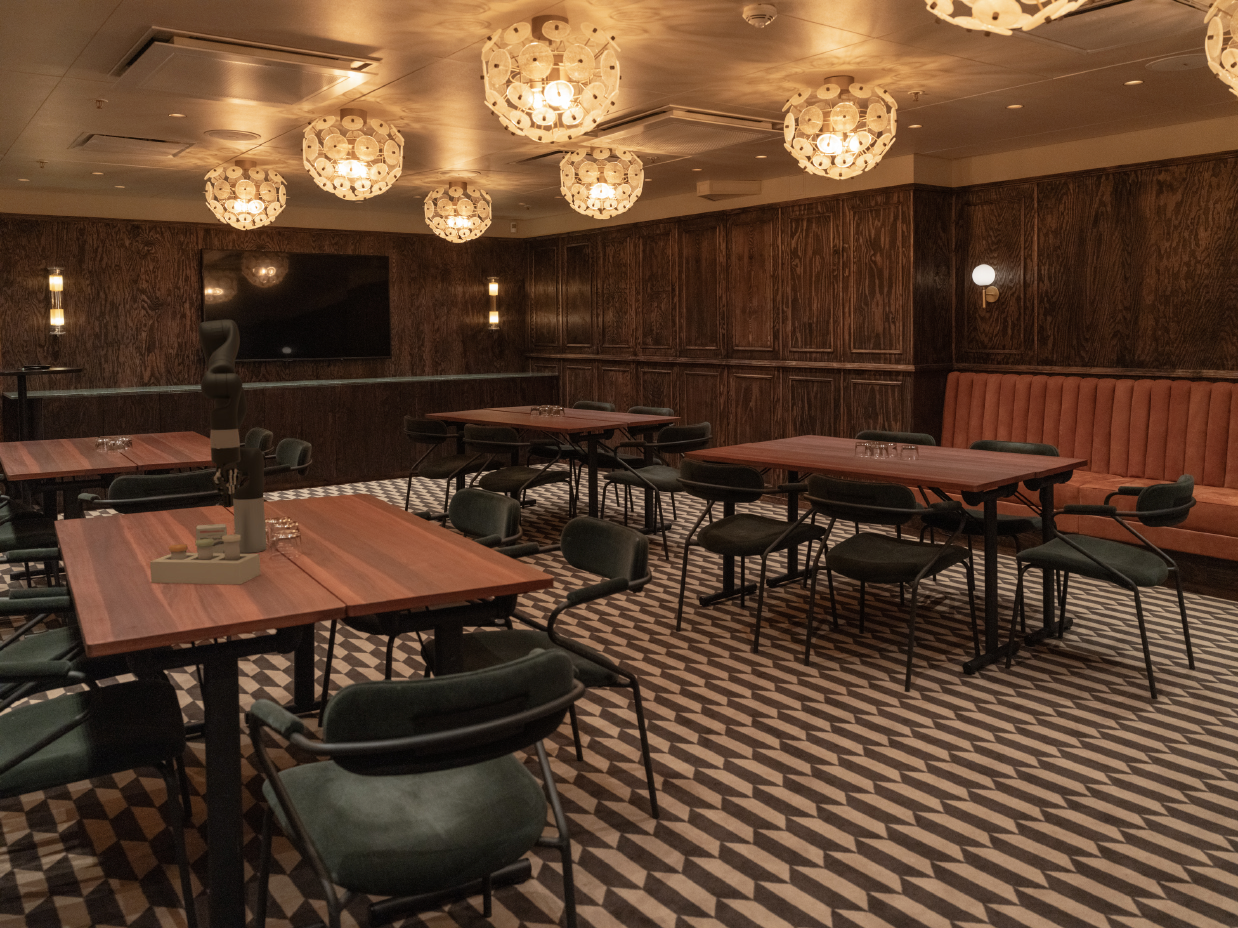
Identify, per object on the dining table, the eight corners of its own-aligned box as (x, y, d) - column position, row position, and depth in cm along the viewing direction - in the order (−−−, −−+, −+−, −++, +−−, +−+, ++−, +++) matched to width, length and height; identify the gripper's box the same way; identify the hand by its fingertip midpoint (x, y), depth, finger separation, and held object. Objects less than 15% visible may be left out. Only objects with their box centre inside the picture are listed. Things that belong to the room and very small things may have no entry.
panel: (175, 572, 286) (174, 552, 285) (260, 574, 283) (259, 554, 282) (151, 582, 274) (150, 561, 273) (239, 584, 271) (238, 563, 270)
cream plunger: (228, 562, 280) (227, 534, 279) (244, 562, 279) (243, 534, 278) (220, 566, 275) (218, 537, 274) (236, 566, 275) (235, 537, 274)
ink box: (197, 567, 293) (195, 528, 292) (197, 563, 298) (195, 525, 296) (228, 564, 297) (226, 525, 295) (227, 561, 301) (225, 523, 300)
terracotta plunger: (176, 571, 282) (174, 543, 281) (192, 572, 281) (190, 544, 280) (167, 575, 277) (165, 547, 276) (183, 576, 277) (181, 547, 276)
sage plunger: (202, 566, 281) (201, 538, 280) (218, 567, 280) (217, 538, 279) (193, 570, 276) (191, 542, 275) (209, 571, 276) (208, 542, 275)
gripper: (224, 443, 280) (228, 503, 282) (199, 447, 267) (203, 510, 269) (249, 443, 279) (252, 503, 281) (225, 447, 266) (229, 511, 268)
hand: (228, 506), depth 275 cm, fingers closed
